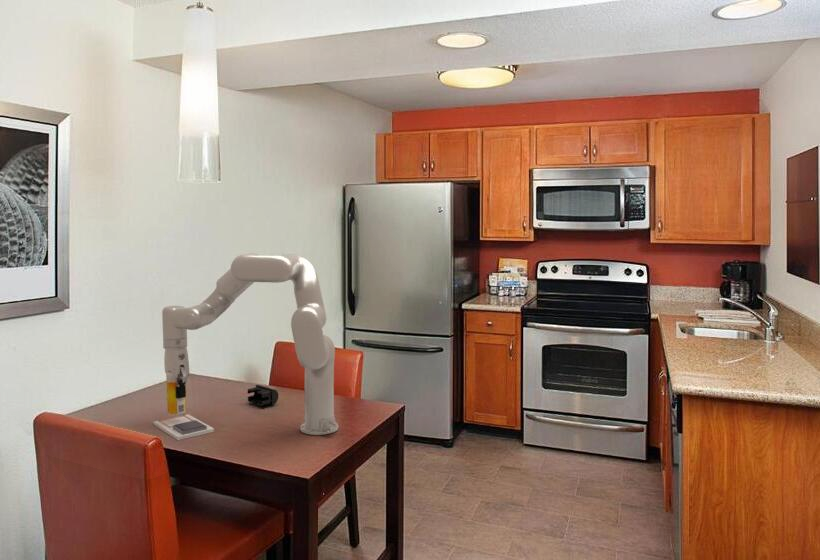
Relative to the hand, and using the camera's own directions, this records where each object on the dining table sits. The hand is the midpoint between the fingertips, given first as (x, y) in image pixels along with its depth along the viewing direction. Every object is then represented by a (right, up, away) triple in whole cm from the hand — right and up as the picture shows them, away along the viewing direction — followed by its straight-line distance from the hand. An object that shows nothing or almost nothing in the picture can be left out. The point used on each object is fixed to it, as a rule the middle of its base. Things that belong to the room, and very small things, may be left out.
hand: (176, 395), depth 206 cm
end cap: (+23, -8, +24) cm, 35 cm away
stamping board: (+3, -10, -3) cm, 11 cm away
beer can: (0, -7, +1) cm, 7 cm away
